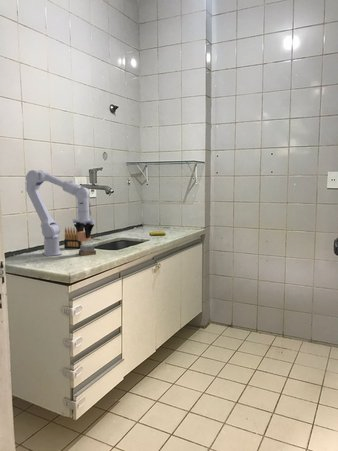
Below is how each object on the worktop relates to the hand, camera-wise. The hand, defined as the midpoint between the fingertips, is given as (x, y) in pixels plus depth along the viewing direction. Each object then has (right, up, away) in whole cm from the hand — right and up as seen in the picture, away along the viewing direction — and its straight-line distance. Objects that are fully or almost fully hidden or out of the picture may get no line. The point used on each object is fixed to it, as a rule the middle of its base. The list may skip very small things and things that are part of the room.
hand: (84, 237), depth 194 cm
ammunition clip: (-10, -7, +19) cm, 23 cm away
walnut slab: (+1, -9, +3) cm, 10 cm away
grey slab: (+1, -7, +2) cm, 7 cm away
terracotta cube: (0, -2, 0) cm, 2 cm away
